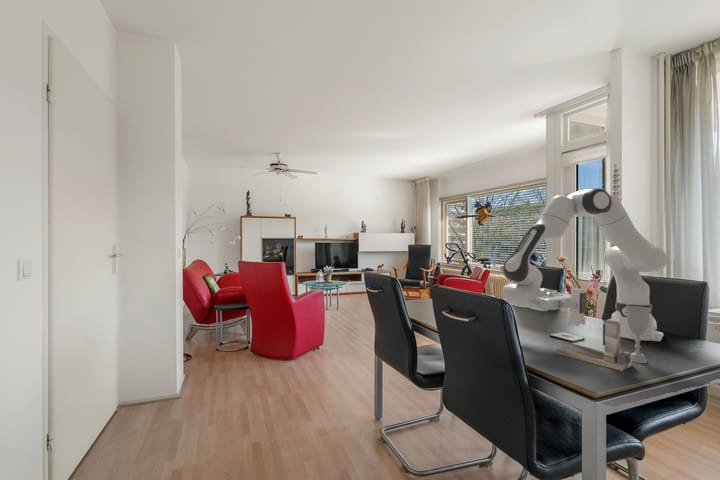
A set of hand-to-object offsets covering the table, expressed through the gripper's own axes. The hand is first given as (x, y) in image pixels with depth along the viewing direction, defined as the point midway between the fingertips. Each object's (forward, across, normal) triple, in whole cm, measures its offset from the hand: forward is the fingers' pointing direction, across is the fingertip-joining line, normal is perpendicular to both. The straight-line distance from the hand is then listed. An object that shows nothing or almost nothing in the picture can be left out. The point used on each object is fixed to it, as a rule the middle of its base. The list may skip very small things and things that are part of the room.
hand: (580, 305), depth 125 cm
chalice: (+14, +9, +18) cm, 24 cm away
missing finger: (-1, 0, +7) cm, 7 cm away
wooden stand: (+5, -3, +17) cm, 18 cm away
